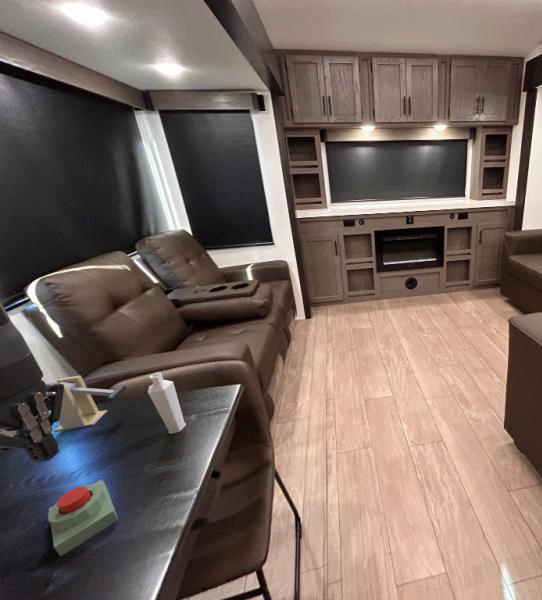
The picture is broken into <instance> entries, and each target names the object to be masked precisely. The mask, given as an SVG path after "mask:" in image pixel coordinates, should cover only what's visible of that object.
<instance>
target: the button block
mask: <svg viewBox="0 0 542 600" xmlns="http://www.w3.org/2000/svg"><path fill="white" fill-rule="evenodd" d="M85 487H87V489H88V491H89V492H90V494H91V499H90V500H89V501H88V502H87V503H86V504H85V505H84V506H83V507H81V508H79V509H78V510H76V511H74V512H72V513H68V514H63V513H62V512H61V511H60V509H59V507H58V506H57V502H56V503H55V504H53V506H50V507H49V508H48V513H47V519H48V520H47V521H48V523H49V524H50V528H51V535H52V543H53V548H54V550H55V551H56V553H57V555H58V556H59V557H62V556H64V555H65V554H67V553H68V552H70V551H71V550H73V549H74V548H77V547H78V546H80V545H81V544H82V543H84V542H86V541H87V540H89V539H90V538H92V537H94V536H95V535H97V534H98V533H100V532H101V531H103V530H105V529H106V528H108V527H110V526H111V525H112V524H114V523H116V522H118V521H119V518H118V515H117V512H116V509H115V506H114V503H113V501H112V498H111V496H110V491H109V490H108V487H107V485H106V483H105V481H104V480H103V479H100V480H98V481H95V482H94V483H92V484H88V485H85Z"/></svg>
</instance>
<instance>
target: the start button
mask: <svg viewBox="0 0 542 600" xmlns="http://www.w3.org/2000/svg"><path fill="white" fill-rule="evenodd" d="M85 486H86V485H85ZM85 486H83V485H81V486H77V487H75V488H73V489H70V490H69V491H67V492H66V493H64V494H63V495H61V497H60V498H59V499H58V500H57V502H56V503H57V506H58V507H59V509H60V511H61V512H62V513H63V514H68V513H72V512H74V511H76V510H78V509H79V508H81V507H83V506H84V505H85V504H86V503H87V502H88V501H89V500H90V499H91V494H90V492H89V491H88V489H87V487H85Z"/></svg>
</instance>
